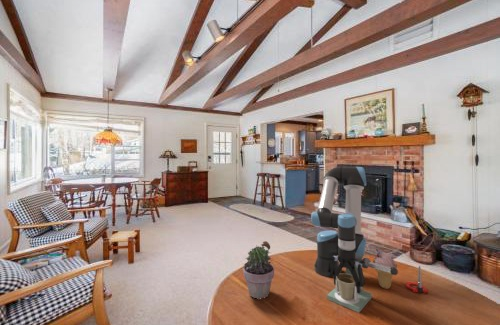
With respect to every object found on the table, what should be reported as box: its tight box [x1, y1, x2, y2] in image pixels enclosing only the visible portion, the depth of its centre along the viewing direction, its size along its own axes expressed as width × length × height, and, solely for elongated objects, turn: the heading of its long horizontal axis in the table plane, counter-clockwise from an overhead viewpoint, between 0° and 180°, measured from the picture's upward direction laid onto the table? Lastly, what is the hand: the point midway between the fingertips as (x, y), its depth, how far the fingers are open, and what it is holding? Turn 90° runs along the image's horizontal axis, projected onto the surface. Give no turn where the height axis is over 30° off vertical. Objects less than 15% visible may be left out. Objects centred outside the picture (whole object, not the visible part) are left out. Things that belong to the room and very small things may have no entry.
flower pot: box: [336, 272, 356, 300], centre depth 114 cm, size 9×9×9 cm
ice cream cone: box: [372, 248, 398, 290], centre depth 126 cm, size 11×11×20 cm
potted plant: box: [240, 241, 275, 300], centre depth 120 cm, size 18×20×25 cm
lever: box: [360, 257, 399, 276], centre depth 112 cm, size 16×3×4 cm, turn 45°
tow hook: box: [405, 265, 429, 294], centre depth 124 cm, size 8×13×9 cm
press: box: [326, 253, 373, 314], centre depth 116 cm, size 15×17×19 cm
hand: (346, 295), depth 114 cm, fingers closed on flower pot, 8 cm apart
